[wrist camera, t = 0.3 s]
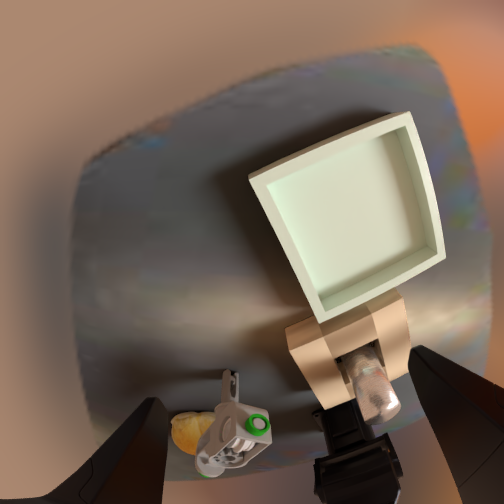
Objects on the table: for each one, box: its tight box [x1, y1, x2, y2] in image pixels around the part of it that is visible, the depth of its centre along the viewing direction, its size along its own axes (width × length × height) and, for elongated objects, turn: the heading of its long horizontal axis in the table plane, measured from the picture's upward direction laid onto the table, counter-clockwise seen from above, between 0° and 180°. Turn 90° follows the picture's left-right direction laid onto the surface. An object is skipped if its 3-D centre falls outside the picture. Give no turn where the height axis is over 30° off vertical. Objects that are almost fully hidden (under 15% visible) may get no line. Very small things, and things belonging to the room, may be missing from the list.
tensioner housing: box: [285, 287, 411, 410], centre depth 24 cm, size 10×10×3 cm
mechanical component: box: [195, 369, 272, 477], centre depth 22 cm, size 3×10×10 cm, turn 152°
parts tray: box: [248, 111, 446, 323], centre depth 19 cm, size 12×12×2 cm
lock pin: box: [340, 343, 401, 425], centre depth 21 cm, size 3×3×9 cm
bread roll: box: [171, 412, 216, 455], centre depth 29 cm, size 8×9×4 cm
